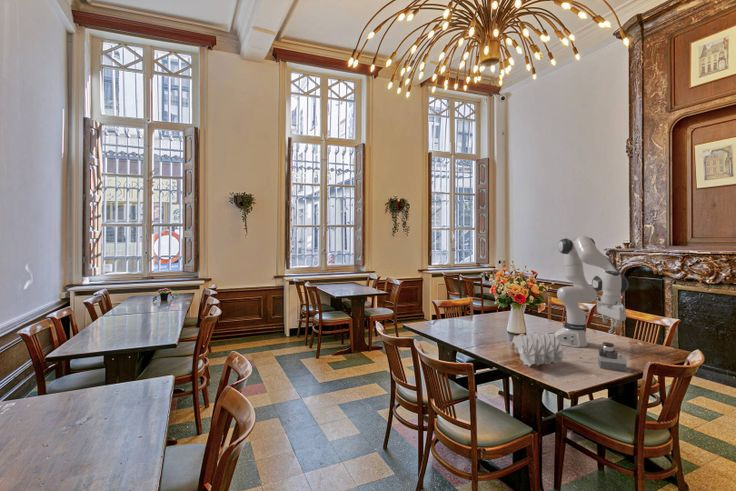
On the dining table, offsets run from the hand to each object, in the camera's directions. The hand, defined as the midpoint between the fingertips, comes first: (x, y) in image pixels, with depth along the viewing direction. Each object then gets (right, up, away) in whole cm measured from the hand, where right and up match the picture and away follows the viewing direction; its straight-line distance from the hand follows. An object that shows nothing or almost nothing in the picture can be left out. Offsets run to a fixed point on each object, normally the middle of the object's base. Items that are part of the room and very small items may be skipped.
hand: (610, 324), depth 213 cm
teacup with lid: (-41, -23, +23) cm, 53 cm away
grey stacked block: (0, -24, -1) cm, 24 cm away
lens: (-2, -17, 0) cm, 17 cm away
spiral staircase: (-39, -23, +3) cm, 45 cm away
